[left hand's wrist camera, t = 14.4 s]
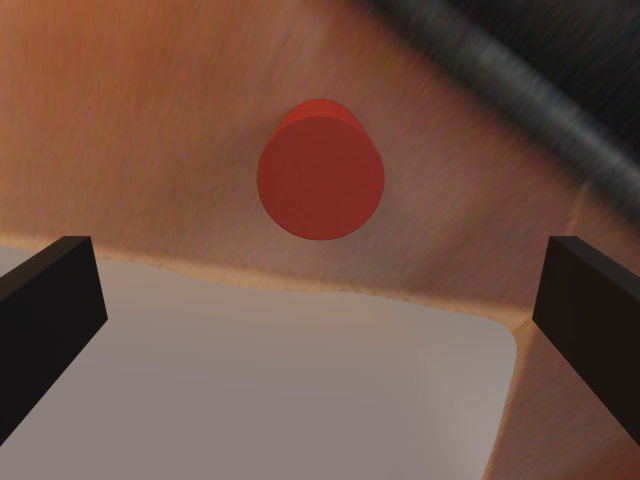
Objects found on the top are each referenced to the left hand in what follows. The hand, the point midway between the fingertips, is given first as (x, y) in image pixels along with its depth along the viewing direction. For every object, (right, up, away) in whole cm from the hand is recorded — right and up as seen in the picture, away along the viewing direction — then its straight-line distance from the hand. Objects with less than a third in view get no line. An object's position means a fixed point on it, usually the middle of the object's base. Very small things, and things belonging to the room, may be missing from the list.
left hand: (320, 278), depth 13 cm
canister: (0, +9, +23) cm, 25 cm away
